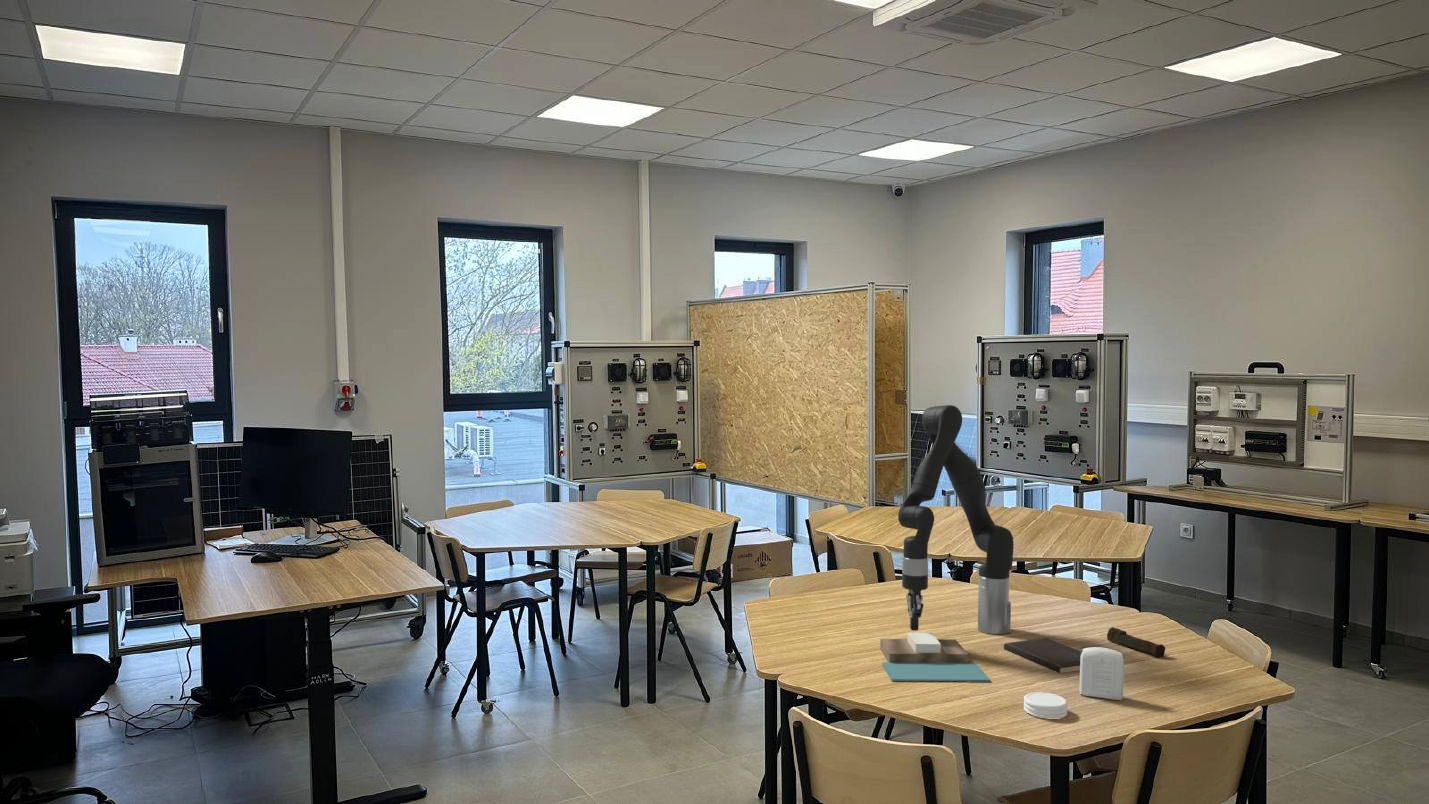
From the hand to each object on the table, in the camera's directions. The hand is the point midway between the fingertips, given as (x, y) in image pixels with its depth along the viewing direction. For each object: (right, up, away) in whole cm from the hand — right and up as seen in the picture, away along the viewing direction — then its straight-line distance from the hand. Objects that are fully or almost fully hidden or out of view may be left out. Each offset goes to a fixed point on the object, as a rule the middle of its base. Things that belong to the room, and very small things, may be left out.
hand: (914, 629), depth 278 cm
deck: (0, -5, -12) cm, 13 cm away
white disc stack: (+20, -7, -54) cm, 58 cm away
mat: (0, -5, -26) cm, 26 cm away
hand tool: (+64, -5, -3) cm, 64 cm away
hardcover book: (+37, -6, -12) cm, 39 cm away
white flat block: (0, -2, -12) cm, 13 cm away
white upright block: (+38, -7, -43) cm, 58 cm away
